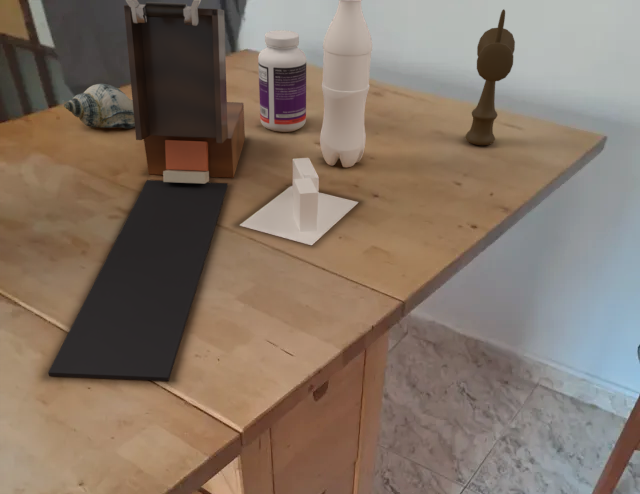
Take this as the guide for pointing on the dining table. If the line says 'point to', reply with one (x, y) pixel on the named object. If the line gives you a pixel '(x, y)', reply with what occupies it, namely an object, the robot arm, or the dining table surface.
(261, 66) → the pill bottle
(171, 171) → the block
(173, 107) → the scoop
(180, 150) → the block
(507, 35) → the kendama
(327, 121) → the water bottle
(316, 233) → the napkin holder
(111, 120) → the seashell
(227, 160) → the stand
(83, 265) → the dining table surface
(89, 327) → the mat
